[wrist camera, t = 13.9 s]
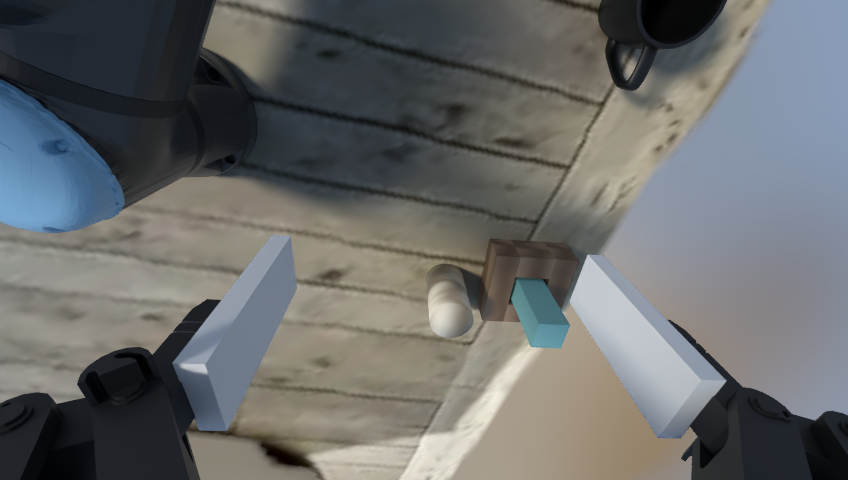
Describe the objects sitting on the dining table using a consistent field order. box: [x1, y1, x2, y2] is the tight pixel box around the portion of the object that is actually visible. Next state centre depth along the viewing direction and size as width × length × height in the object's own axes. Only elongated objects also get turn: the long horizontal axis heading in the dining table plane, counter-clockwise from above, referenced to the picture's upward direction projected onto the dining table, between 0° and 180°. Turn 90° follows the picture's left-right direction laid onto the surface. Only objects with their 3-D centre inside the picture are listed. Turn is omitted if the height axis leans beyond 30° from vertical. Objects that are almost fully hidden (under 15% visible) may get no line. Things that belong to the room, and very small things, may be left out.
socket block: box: [477, 239, 579, 322], centre depth 52 cm, size 12×12×5 cm
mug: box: [598, 0, 727, 91], centre depth 34 cm, size 8×12×10 cm
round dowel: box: [427, 264, 473, 338], centre depth 50 cm, size 6×6×10 cm
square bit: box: [510, 277, 570, 348], centre depth 48 cm, size 4×4×14 cm
